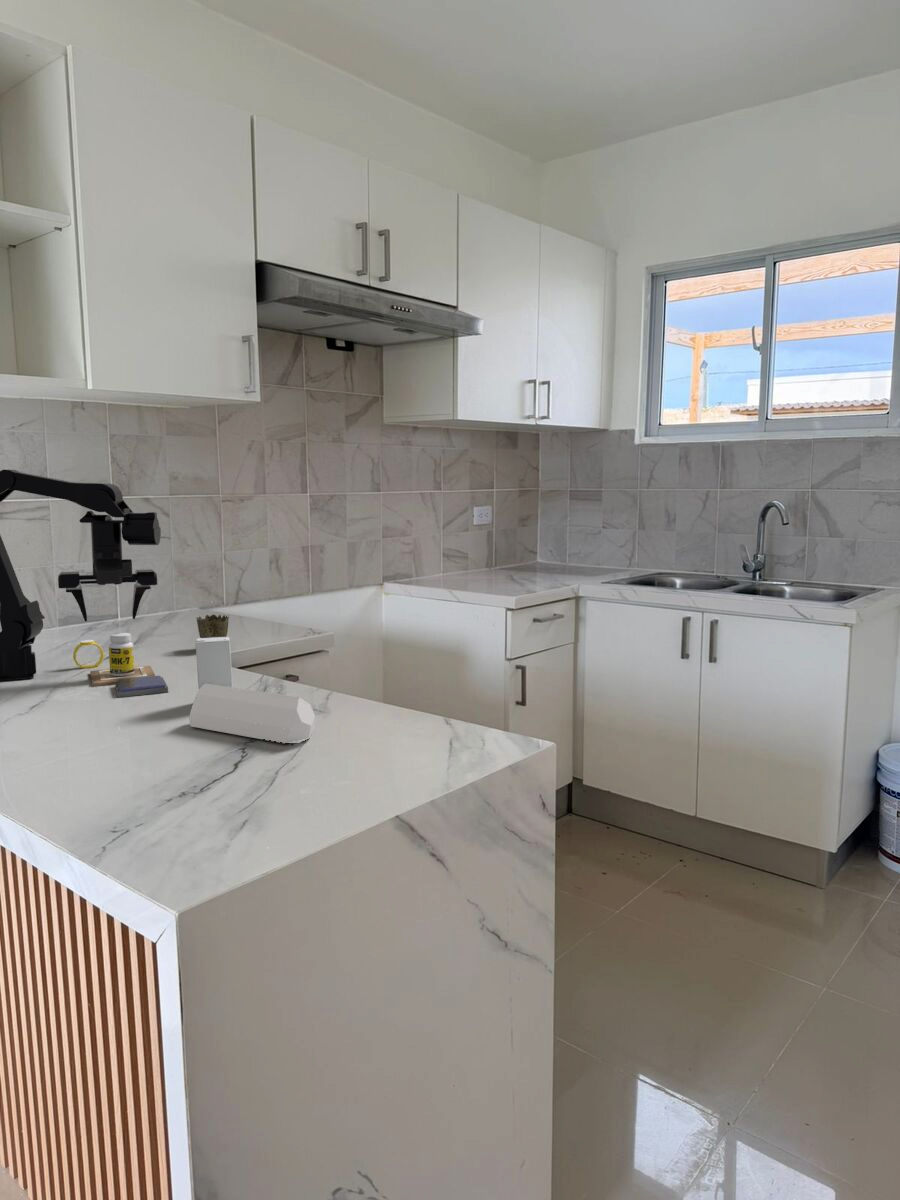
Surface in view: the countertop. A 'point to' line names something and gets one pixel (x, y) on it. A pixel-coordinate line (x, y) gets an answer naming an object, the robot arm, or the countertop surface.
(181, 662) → the countertop surface
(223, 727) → the crystal
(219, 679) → the skincare box
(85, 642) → the watch
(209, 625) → the cup
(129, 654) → the supplement bottle
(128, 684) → the ink pad
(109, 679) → the marked board
